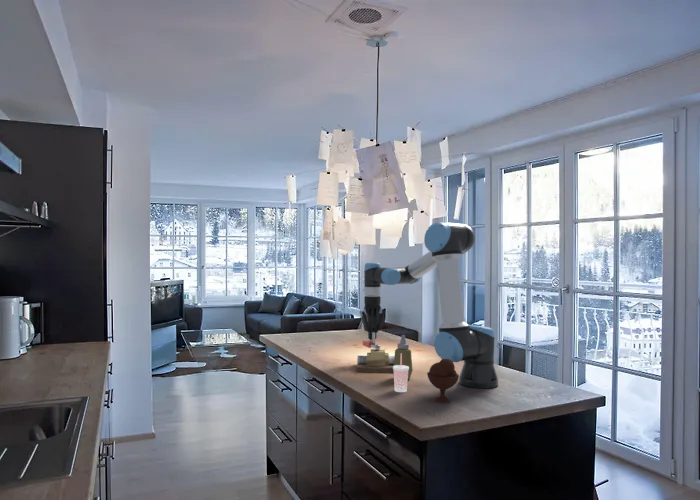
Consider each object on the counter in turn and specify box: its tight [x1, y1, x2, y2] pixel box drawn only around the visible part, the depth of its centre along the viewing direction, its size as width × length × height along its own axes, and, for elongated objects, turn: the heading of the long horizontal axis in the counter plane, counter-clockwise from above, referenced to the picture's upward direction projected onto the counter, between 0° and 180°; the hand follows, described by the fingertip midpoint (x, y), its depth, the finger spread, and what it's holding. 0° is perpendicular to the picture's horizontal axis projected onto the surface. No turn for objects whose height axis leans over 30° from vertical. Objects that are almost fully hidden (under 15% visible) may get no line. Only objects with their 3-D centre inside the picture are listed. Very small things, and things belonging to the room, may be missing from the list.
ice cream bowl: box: [426, 359, 460, 404], centre depth 182 cm, size 11×11×15 cm
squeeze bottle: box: [393, 334, 413, 380], centre depth 212 cm, size 8×8×18 cm
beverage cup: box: [393, 353, 409, 393], centre depth 194 cm, size 6×6×14 cm
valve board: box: [356, 348, 395, 374], centre depth 230 cm, size 14×18×8 cm
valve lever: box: [362, 340, 381, 351], centre depth 235 cm, size 14×3×2 cm, turn 23°
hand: (372, 346), depth 240 cm, fingers closed
